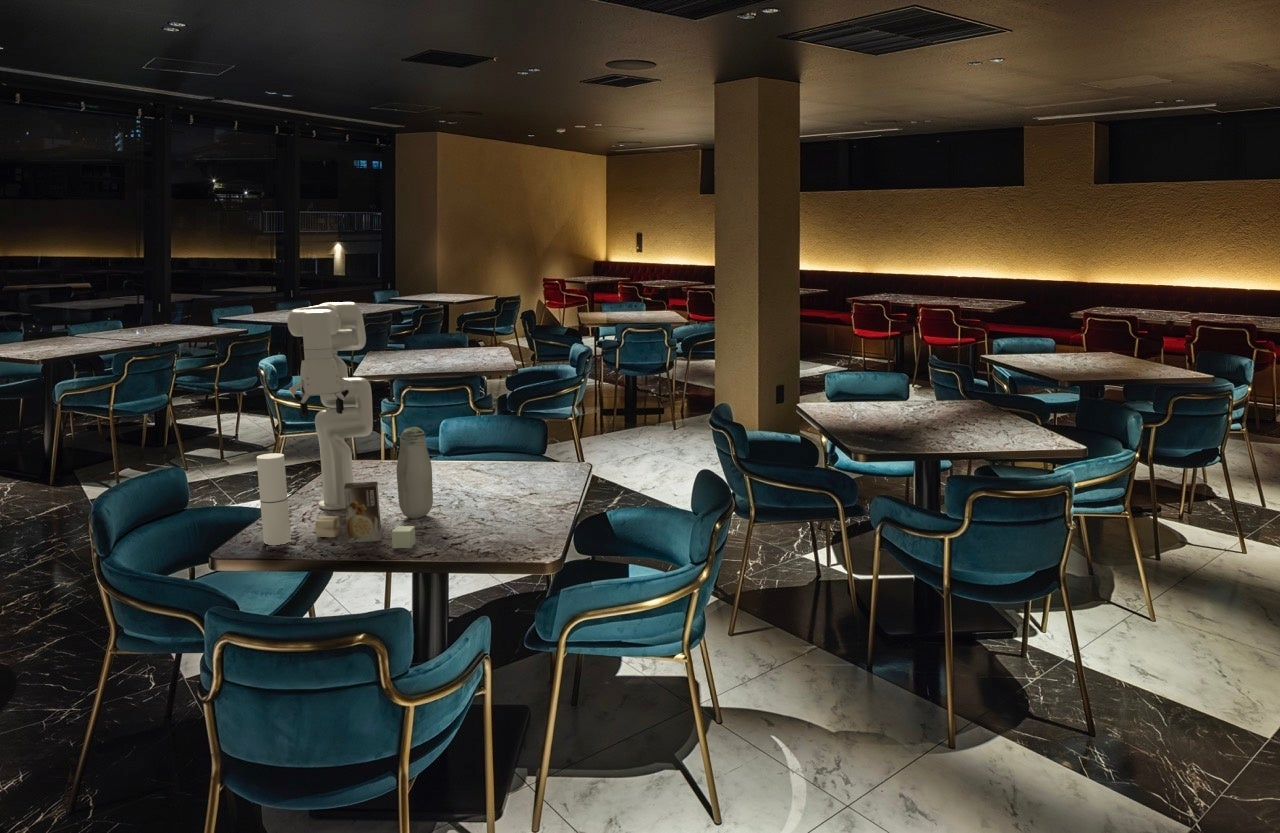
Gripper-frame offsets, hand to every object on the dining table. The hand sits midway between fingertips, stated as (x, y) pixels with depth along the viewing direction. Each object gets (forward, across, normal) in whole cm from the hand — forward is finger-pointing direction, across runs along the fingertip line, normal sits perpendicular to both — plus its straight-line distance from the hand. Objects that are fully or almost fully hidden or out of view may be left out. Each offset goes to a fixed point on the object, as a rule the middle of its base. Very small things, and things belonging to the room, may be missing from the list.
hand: (322, 414), depth 268 cm
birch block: (+35, +1, +1) cm, 35 cm away
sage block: (+36, -13, +24) cm, 45 cm away
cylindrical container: (+35, +15, 0) cm, 38 cm away
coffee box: (+35, -6, +12) cm, 38 cm away
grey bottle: (+35, -26, 0) cm, 44 cm away
